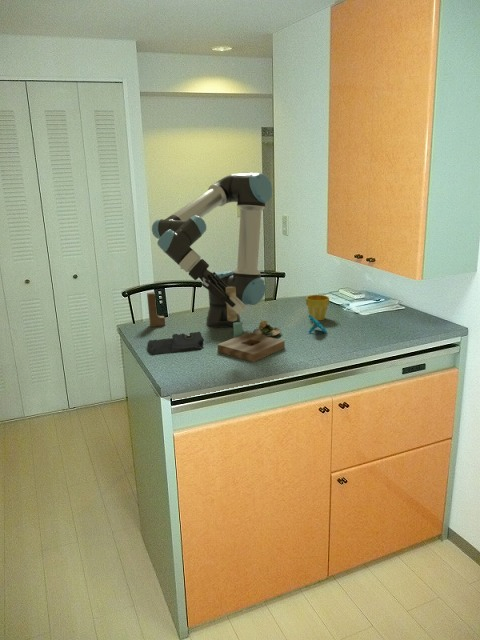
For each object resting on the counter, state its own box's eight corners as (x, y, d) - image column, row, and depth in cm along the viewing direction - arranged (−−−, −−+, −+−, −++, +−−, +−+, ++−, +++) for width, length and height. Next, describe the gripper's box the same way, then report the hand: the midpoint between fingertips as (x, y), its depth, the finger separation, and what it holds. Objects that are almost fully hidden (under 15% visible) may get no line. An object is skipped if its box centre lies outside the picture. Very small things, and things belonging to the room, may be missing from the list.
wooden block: (150, 327, 229) (147, 294, 225) (149, 325, 232) (146, 292, 228) (165, 325, 231) (162, 292, 227) (164, 323, 234) (161, 291, 230)
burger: (268, 341, 204) (268, 323, 202) (246, 336, 212) (246, 319, 210) (287, 334, 213) (286, 316, 211) (265, 329, 220) (264, 312, 218)
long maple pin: (225, 320, 188) (223, 288, 184) (232, 317, 190) (230, 286, 186) (232, 321, 185) (230, 289, 182) (239, 319, 188) (237, 287, 184)
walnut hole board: (217, 351, 195) (217, 344, 194) (249, 339, 207) (248, 332, 206) (253, 362, 183) (253, 354, 182) (284, 348, 196) (284, 340, 195)
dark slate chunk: (146, 344, 208) (145, 333, 207) (200, 338, 212) (199, 327, 211) (149, 357, 194) (147, 345, 192) (206, 350, 198) (205, 339, 197)
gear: (328, 332, 206) (311, 315, 206) (318, 342, 207) (300, 325, 207) (327, 328, 217) (310, 311, 217) (317, 337, 218) (300, 321, 218)
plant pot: (332, 316, 233) (333, 295, 230) (323, 322, 225) (323, 301, 222) (311, 314, 238) (311, 293, 236) (302, 320, 230) (301, 298, 227)
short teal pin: (232, 340, 207) (231, 323, 205) (238, 338, 210) (237, 321, 208) (238, 342, 205) (238, 325, 203) (244, 339, 207) (244, 323, 205)
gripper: (194, 268, 193) (239, 310, 195) (181, 278, 177) (231, 324, 179) (206, 253, 190) (252, 297, 192) (195, 262, 175) (245, 309, 177)
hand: (242, 310), depth 186 cm, fingers closed on long maple pin, 3 cm apart
